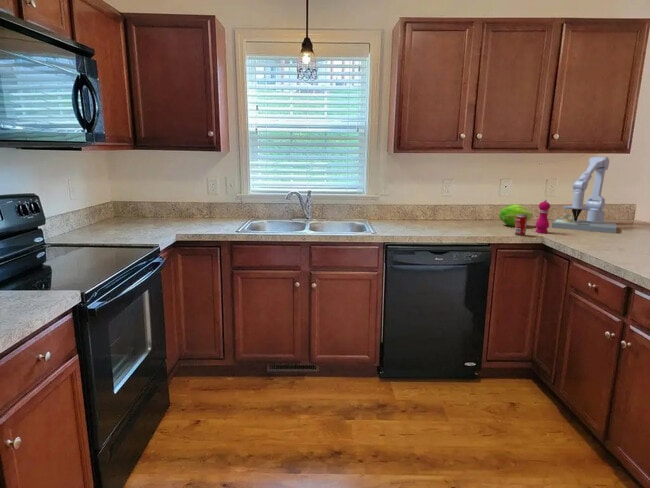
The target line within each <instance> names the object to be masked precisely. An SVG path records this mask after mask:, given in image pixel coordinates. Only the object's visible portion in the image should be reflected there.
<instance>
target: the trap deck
mask: <svg viewBox="0 0 650 488" xmlns="http://www.w3.org/2000/svg"><path fill="white" fill-rule="evenodd" d="M617 226H618V225H617V222H606V221H604V222H596V221H587V220H584V219H581V220H580V219H577V221H574V219H573V220H572V223H570V222H563V218H560V217H559V218H558V217H556V218H555V219H554V221H552V223H551V228H554V229H564V230H575V231H586V232H596V233H597V232H598V233H609V234H617Z"/></svg>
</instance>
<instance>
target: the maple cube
mask: <svg viewBox="0 0 650 488" xmlns="http://www.w3.org/2000/svg"><path fill="white" fill-rule="evenodd" d="M562 219H563V222H570V223H572V220H574V215H573V213H567V212H566V213H563V218H562Z"/></svg>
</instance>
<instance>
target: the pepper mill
mask: <svg viewBox="0 0 650 488" xmlns="http://www.w3.org/2000/svg"><path fill="white" fill-rule="evenodd" d="M538 208H539V211H538V213H539V217H538V218H537V221H536V222H535V228H536V229H535V233H536V232H537V234H548V228H549V227H550V222H549V219H548V214H549V209H551V204H550V203H549V202H548V201H547V199H543V201H542V202H540V203H539V204H538Z"/></svg>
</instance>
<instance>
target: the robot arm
mask: <svg viewBox="0 0 650 488" xmlns="http://www.w3.org/2000/svg"><path fill="white" fill-rule="evenodd" d="M609 165H610V159H609V157H608V156H591V157H590V158H589V161H588V166H587V169H586V171H584V172H582V174H581V175H580V177H579V178H578V179H577V180H576V181H574V182H573V184H572V188H573V191H572V192H573V198H572V205H563V206H564V207H563V209H564V210H571V212H572V214H573V220H574V221H577V220H578V218H579V216H580V214H581V213H582V211H587V215H586V221H596V222H605V216H606V215H605V214H606V212H605V211H604V208H605V207H606V199H605V198H604V197H603V195H602V190H603V185H604V179H605V174H606V171H607V170H608V169H609ZM594 172H595V177H594V181H593V188H592V194H591V195H590V196H589V197H587V198H586V202H585V206H584V201H585V199H584V198H585V192H586V190H587V189H588V187H589V186H588V185H589V182H590V180H591V179H592V178H593V176H592V175H593V173H594Z"/></svg>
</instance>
